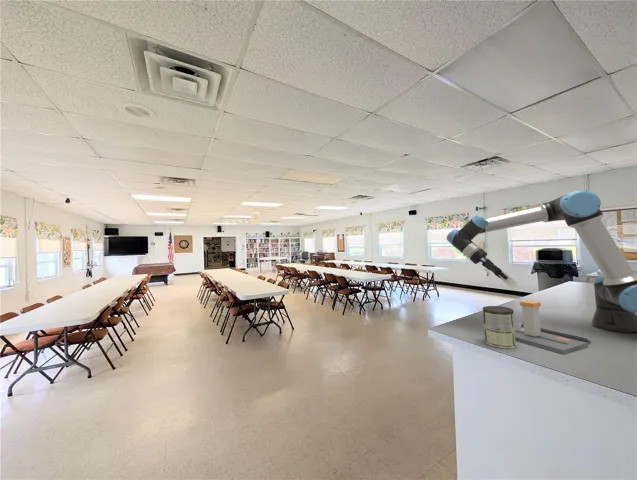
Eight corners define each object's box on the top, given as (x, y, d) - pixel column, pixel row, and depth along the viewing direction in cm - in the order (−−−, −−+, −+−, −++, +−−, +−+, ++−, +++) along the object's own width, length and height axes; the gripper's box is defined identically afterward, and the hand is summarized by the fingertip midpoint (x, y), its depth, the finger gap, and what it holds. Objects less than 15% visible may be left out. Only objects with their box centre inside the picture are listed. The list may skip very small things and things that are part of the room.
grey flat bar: (521, 329, 120) (520, 324, 120) (527, 327, 122) (526, 323, 122) (587, 345, 99) (586, 339, 99) (593, 343, 100) (592, 337, 101)
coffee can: (479, 339, 109) (477, 306, 110) (505, 339, 108) (503, 305, 109) (493, 348, 99) (491, 311, 100) (522, 348, 98) (519, 311, 98)
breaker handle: (522, 333, 109) (519, 301, 109) (529, 332, 111) (527, 300, 111) (535, 337, 104) (533, 303, 105) (543, 335, 106) (540, 302, 107)
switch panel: (491, 333, 116) (491, 330, 116) (514, 328, 121) (513, 325, 122) (563, 354, 91) (563, 350, 91) (587, 346, 97) (587, 342, 97)
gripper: (472, 262, 139) (508, 292, 127) (464, 254, 120) (506, 289, 108) (483, 252, 137) (521, 282, 125) (477, 243, 118) (521, 277, 105)
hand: (514, 285), depth 116 cm, fingers open, 13 cm apart
